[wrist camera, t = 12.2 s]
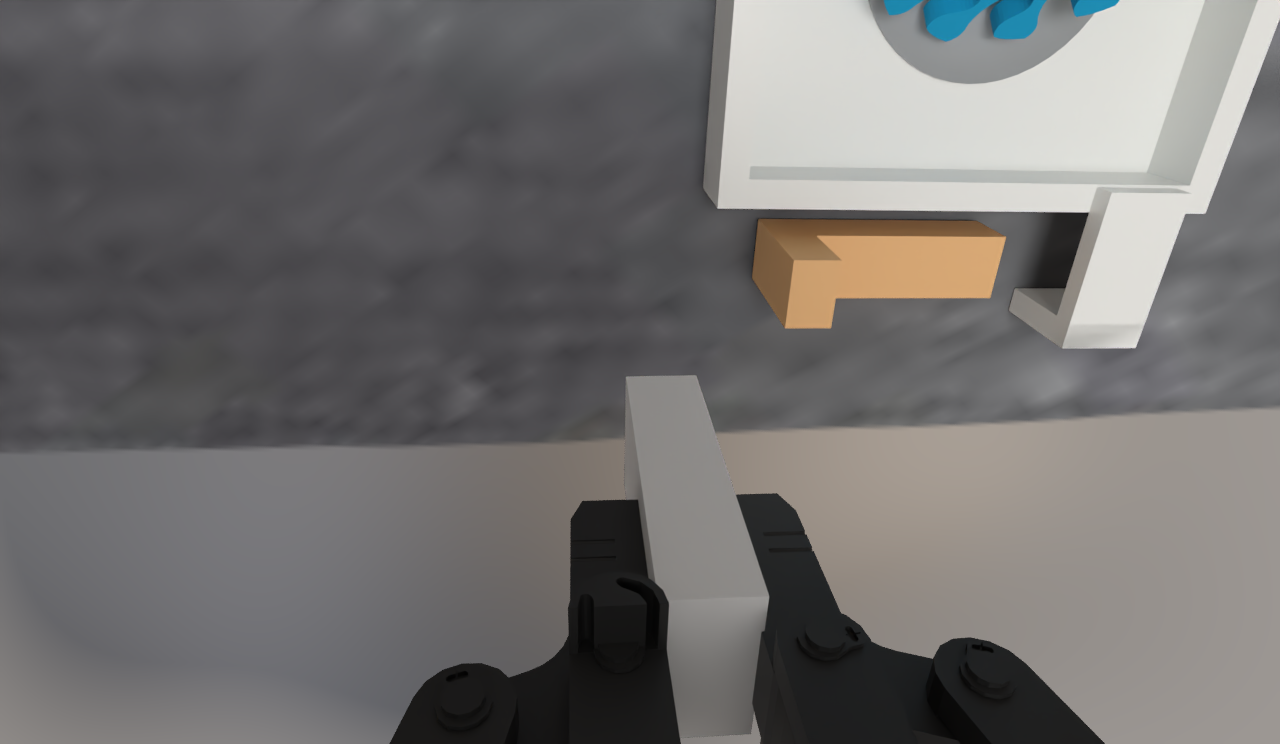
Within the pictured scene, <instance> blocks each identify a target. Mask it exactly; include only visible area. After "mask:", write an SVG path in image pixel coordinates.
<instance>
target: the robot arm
mask: <svg viewBox="0 0 1280 744" xmlns="http://www.w3.org/2000/svg"><path fill="white" fill-rule="evenodd" d="M624 468H625V469H624V486H625V494H626V500H603V501H582V503H581V504H580V506H579V508H578V509H577V511H576V512H575V514H574V515H573V517H572V518H571V568H570V572H571V573H570V576H571V577H570V578H571V579H570V581H571V582H570V585H571V586H570V603H569V607H568V620H569V636H568V638H567V640H566V642H565V644H564V646H563V647H562V649H561V650H560V651H559V652H558V653H557V654H556V655H555V656H554V657H553V658H552V659H550V660H549V661H547V662H546V663H545V664H543V665H541V666H539V667H537V668H535V669H532V670H530V671H527V672H524V673H521V674H519V675H516V676H513V677H510V678H508V677H507V676H506V675H505V674H504V673H503V672H502V671H501V670H499V669H497V668H494V667H491V666H488V665H485V664H482V663H476V664H460V665H457V666H453V667H450V668H447V669H444V670H442V671H441V672H439V673H437V674H436V675H435V676H433V677H432V678H430V679H429V680H427V681H426V682H425V683H424V684H423V686H422V687H421V688H420V689H419V691H418V692H417V693H416V695H415V696H414V697H413V699H412V701H411V703H410V705H409V707H408V709H407V711H406V713H405V715H404V717H403V719H402V720H401V723H400V724H399V726H398V728H397V731H396V732H395V734H394V736H393V738H392V740H391V742H390V744H681V742H680V738H690V737H708V736H724V735H742V734H751V729H752V722H753V714H754V712H755V716H756V720H757V724H758V728H759V732H760V735H761V742H760V744H1105V743H1104V742H1103V741H1102V740H1101V739H1100V738H1099V737H1098V736H1097V735H1096V734H1095V733H1094V732H1093V731H1092V730H1091V729H1090V728H1089V727H1088V726H1087V725H1086V724H1085V723H1084V722H1083V721H1082V720H1081V719H1080V718H1079V717H1078V716H1077V715H1076V714H1075V713H1074V712H1073V711H1072V710H1071V709H1070V708H1069V707H1068V706H1067V705H1066V704H1065V703H1064V702H1063V701H1062V700H1061V699H1060V698H1059V697H1058V696H1057V695H1056V694H1055V693H1054V692H1053V691H1052V690H1051V689H1050V688H1049V687H1048V686H1047V685H1046V684H1045V682H1044V681H1043V680H1041V679H1040V678H1039V676H1038V675H1036V673H1035V672H1034V671H1033V670H1032V669H1031V668H1030V667H1029V666H1028V665H1027V664H1026V663H1024V662H1023V661H1022V660H1021V659H1019V658H1018V657H1017V656H1015V655H1014V654H1013V653H1012V652H1010V651H1009V650H1007V649H1005V648H1002V647H1000V646H998V645H996V644H994V643H991V642H989V641H984V640H979V639H975V638H957V639H952V640H950V641H948V642H946V643H944V644H942V645H940V647H939V649H938V651H937V652H936V654H935V656H934V658H933V659H931V658H926V657H922V656H917V655H912V654H908V653H903V652H898V651H895V650H891V649H888V648H885V647H882V646H879V645H877V644H875V643H873V642H871V640H870V638H869V637H868V635H867V634H866V633H865V631H864V630H863V628H862V627H861V626H860V625H859V624H857V623H856V622H855V621H853V620H852V619H850V618H849V617H847V616H846V615H844V614H841V612H840V610H839V608H838V606H837V603H836V601H835V599H834V596H833V594H832V592H831V590H830V587H829V585H828V583H827V581H826V578H825V576H824V574H823V571H822V570H821V567H820V565H819V562H818V560H817V558H816V556H815V553H814V551H812V546H811V544H810V542H809V539H808V538H807V535H805V530H804V528H803V526H802V523H801V521H800V519H799V517H798V514H797V512H796V510H794V508H792V507H791V506H790V505H789V504H788V503H787V502H786V501H785V500H784V499H783V498H781V497H780V496H779V495H778V494H777V493H776V494H741V495H736V494H735V491H734V488H733V485H732V482H731V479H730V476H729V473H728V470H727V467H726V464H725V461H724V458H723V455H722V452H721V449H720V446H719V443H718V440H717V437H716V434H715V431H714V428H713V424H712V421H711V418H710V415H709V412H708V409H707V406H706V403H705V400H704V397H703V394H702V391H701V388H700V385H699V382H698V379H697V376H696V375H686V376H626V408H625V467H624Z"/></svg>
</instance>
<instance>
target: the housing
mask: <svg viewBox="0 0 1280 744" xmlns="http://www.w3.org/2000/svg"><path fill="white" fill-rule="evenodd" d="M929 1H930V0H923V1H922V2H920V3H918V4H917V5H916V6H914V7H913V8H912V9H910V10H908V11H907V12H905V13H902V14H898V15H889V14H888V12H887V10H886V7H885V4H884V0H716V13H715V27H714V41H713V55H712V69H711V83H710V97H709V111H708V125H707V139H706V153H705V167H704V181H703V189H704V190H705V192H706V193H707V195H708V196H709V197H710V199H711V200H712V202H713V203H714V204H715V206H716V207H717V209H809V210H903V211H997V212H1089V214H1088V218H1087V221H1086V224H1085V227H1084V231H1083V234H1082V237H1081V240H1080V243H1079V247H1078V250H1077V253H1076V256H1075V260H1074V263H1073V266H1072V269H1071V272H1070V276H1069V279H1068V282H1067V285H1066V288H1015V289H1014V293H1013V297H1012V300H1011V304H1010V307H1009V311H1010V312H1011V313H1013V314H1014V315H1016V316H1017V317H1018V318H1020V319H1021V320H1023V321H1024V322H1025V323H1027V324H1028V325H1030V326H1031V327H1032V328H1034V329H1035V330H1037V331H1038V332H1039V333H1041V334H1042V335H1044V336H1045V337H1046V338H1048V339H1049V340H1051V341H1052V342H1053V343H1055V344H1056V345H1058V346H1059V347H1060V348H1062V349H1063V348H1136V346H1137V343H1138V340H1139V338H1140V335H1141V332H1142V329H1143V327H1144V324H1145V321H1146V319H1147V316H1148V313H1149V310H1150V308H1151V305H1152V302H1153V300H1154V297H1155V294H1156V292H1157V289H1158V286H1159V283H1160V281H1161V278H1162V275H1163V273H1164V270H1165V267H1166V265H1167V262H1168V259H1169V256H1170V254H1171V251H1172V248H1173V246H1174V243H1175V240H1176V237H1177V235H1178V232H1179V229H1180V227H1181V224H1182V221H1183V219H1184V216H1185V213H1186V214H1205V213H1206V210H1207V208H1208V205H1209V202H1210V200H1211V197H1212V195H1213V192H1214V189H1215V187H1216V184H1217V181H1218V179H1219V176H1220V174H1221V171H1222V168H1223V166H1224V163H1225V160H1226V158H1227V155H1228V153H1229V150H1230V147H1231V145H1232V142H1233V140H1234V137H1235V134H1236V132H1237V129H1238V126H1239V124H1240V121H1241V119H1242V116H1243V113H1244V111H1245V108H1246V106H1247V103H1248V100H1249V98H1250V95H1251V92H1252V90H1253V87H1254V85H1255V82H1256V79H1257V77H1258V74H1259V71H1260V69H1261V66H1262V64H1263V61H1264V58H1265V56H1266V53H1267V51H1268V48H1269V45H1270V43H1271V40H1272V37H1273V35H1274V32H1275V30H1276V27H1277V24H1278V22H1279V19H1280V0H1119V2H1118V3H1117V4H1116V5H1115V6H1113V7H1110V8H1108V9H1105V10H1102V11H1099V12H1096V13H1093V14H1090V15H1086V16H1079V17H1076V16H1075V15H1074V12H1073V8H1072V4H1071V0H1047V1H1046V2H1045V3H1044V5H1043V7H1042V8H1041V10H1040V12H1039V16H1038V24H1037V27H1036V29H1035V30H1034V32H1033V33H1032V34H1030V35H1029V36H1028V37H1026V38H1025V39H999V38H996V37H994V36H993V31H992V26H991V21H990V13H991V10H992V9H993V7H994V6H995V5H996V4H997V3H999V2H1000V1H1001V0H998V1H997V2H995V3H993V4H992V5H990V6H988V7H987V8H986V9H984V10H983V11H981V12H980V13H979V14H978V15H977V16H976V17H975V18H974V19H973V20H972V21H971V22H970V23H969V24H968V26H967V27H966V29H965V30H964V32H963V33H962V34H961V35H959V36H958V37H956V38H954V39H953V40H950V41H947V42H945V41H943V40H940V39H938V38H936V37H934V36H933V35H932V34H930V33H929V32H928V30H927V28H926V23H925V17H924V11H923V8H924V6H925V5H926V4H927V3H928V2H929Z"/></svg>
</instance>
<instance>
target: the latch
mask: <svg viewBox="0 0 1280 744" xmlns="http://www.w3.org/2000/svg"><path fill="white" fill-rule="evenodd" d="M1005 239H1006V237H1005V236H1003V235H1001V234H1000V233H998V232H996V231H994V230H992V229H991V228H989V227H987V226H985V225H983V224H982V223H980V222H978V221H936V220H829V219H758V227H757V236H756V246H755V255H754V264H753V274H752V279H753V280H754V282H755V284H756V285H757V287H758V288H759V290H760V291H761V293H762V294H763V296H764V297H765V299H766V300H767V302H768V303H769V305H770V306H771V308H772V309H773V311H774V312H775V314H776V315H777V317H778V319H779V320H780V322H781V323H782V325H783V326H784V328H831V324H832V318H833V312H834V306H835V300H836V298H990V296H991V293H992V289H993V285H994V281H995V277H996V274H997V270H998V266H999V262H1000V258H1001V255H1002V251H1003V247H1004V243H1005Z"/></svg>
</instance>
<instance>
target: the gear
mask: <svg viewBox="0 0 1280 744" xmlns="http://www.w3.org/2000/svg"><path fill="white" fill-rule="evenodd" d="M922 1H923V0H884V4H885V7H886V10H887V12H888V14H889V15H898V14H902V13H905V12H907V11H908V10H910V9H912V8H913V7H914V6H916V5H917V4H918V3H920V2H922ZM997 1H998V0H930V1H929V2H928V3H927V4H926V5H925V6H924V8H923V11H924V17H925V23H926V28H927V30H928V32H929V33H930V34H932V35H933V36H934V37H936V38H938V39H940V40H943V41H945V42H947V41H950V40H953V39H954V38H956V37H958V36H959V35H961V34H962V33H963V32H964V30H965V29H966V27H967V26H968V24H969V23H970V22H971V21H972V20H973V19H974V18H975V17H976V16H977V15H978V14H979V13H980V12H981V11H983V10H984V9H986V8H987V7H988V6H990V5H992V4H993V3H995V2H997ZM1046 1H1047V0H1001V1H1000V2H999V3H997V4H996V5H995V6H994V7H993V9H992V10H991V13H990V21H991V26H992V31H993V36H994V37H996V38H999V39H1025V38H1026V37H1028V36H1029V35H1030V34H1032V33H1033V32H1034V30H1035V29H1036V27H1037V24H1038V16H1039V12H1040V10H1041V8H1042V7H1043V5H1044V3H1045V2H1046ZM1118 2H1119V0H1071V4H1072V8H1073V12H1074V15H1075V16H1076V17H1079V16H1086V15H1090V14H1093V13H1096V12H1099V11H1102V10H1105V9H1108V8H1110V7H1113V6H1115V5H1116V4H1117V3H1118Z"/></svg>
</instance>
